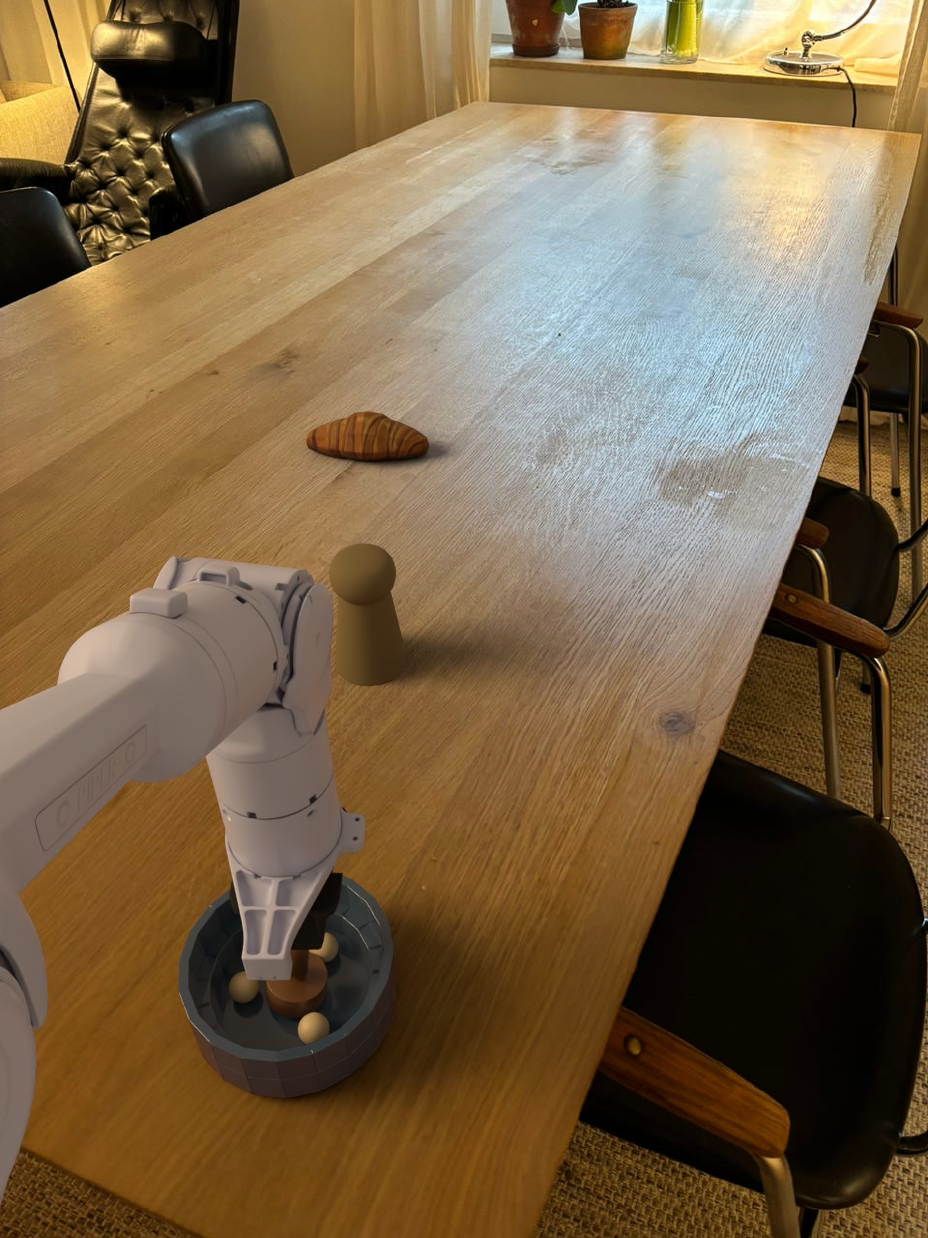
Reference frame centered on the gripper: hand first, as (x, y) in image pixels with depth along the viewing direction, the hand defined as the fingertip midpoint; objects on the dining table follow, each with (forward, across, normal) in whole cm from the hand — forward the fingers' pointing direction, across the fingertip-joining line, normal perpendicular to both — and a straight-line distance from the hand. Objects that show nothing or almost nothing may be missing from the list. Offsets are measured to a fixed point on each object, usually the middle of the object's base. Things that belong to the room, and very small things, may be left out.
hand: (306, 929), depth 57 cm
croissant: (+7, +62, +2) cm, 63 cm away
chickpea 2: (+5, +2, 0) cm, 5 cm away
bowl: (+7, -1, +1) cm, 7 cm away
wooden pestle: (+6, -1, +1) cm, 6 cm away
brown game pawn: (+7, +29, -1) cm, 30 cm away
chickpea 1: (+5, -1, +4) cm, 7 cm away
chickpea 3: (+5, -3, 0) cm, 6 cm away
